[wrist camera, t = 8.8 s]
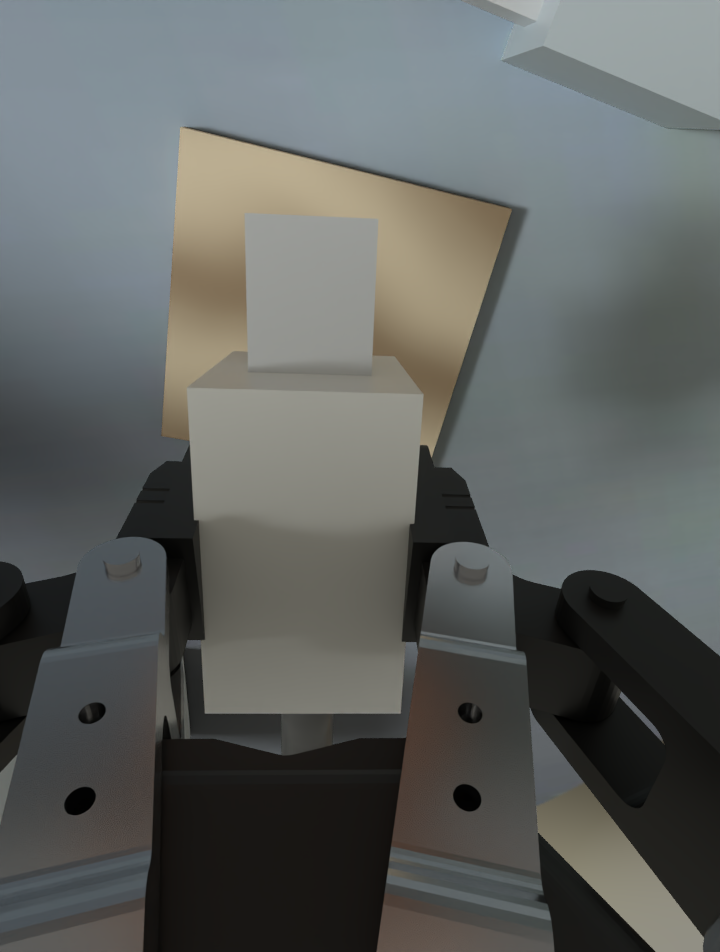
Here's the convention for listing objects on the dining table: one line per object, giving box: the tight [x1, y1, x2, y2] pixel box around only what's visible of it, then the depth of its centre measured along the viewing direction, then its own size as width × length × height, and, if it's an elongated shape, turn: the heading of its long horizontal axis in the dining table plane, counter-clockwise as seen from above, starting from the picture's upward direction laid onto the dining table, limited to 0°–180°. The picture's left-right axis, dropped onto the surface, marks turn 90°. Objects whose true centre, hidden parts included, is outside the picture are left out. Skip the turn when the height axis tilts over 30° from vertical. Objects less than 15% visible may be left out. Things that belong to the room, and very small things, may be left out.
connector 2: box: [461, 0, 720, 130], centre depth 16 cm, size 12×4×4 cm, turn 72°
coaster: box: [161, 127, 512, 458], centre depth 22 cm, size 11×11×1 cm
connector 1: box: [187, 213, 424, 755], centre depth 12 cm, size 12×4×4 cm, turn 178°
